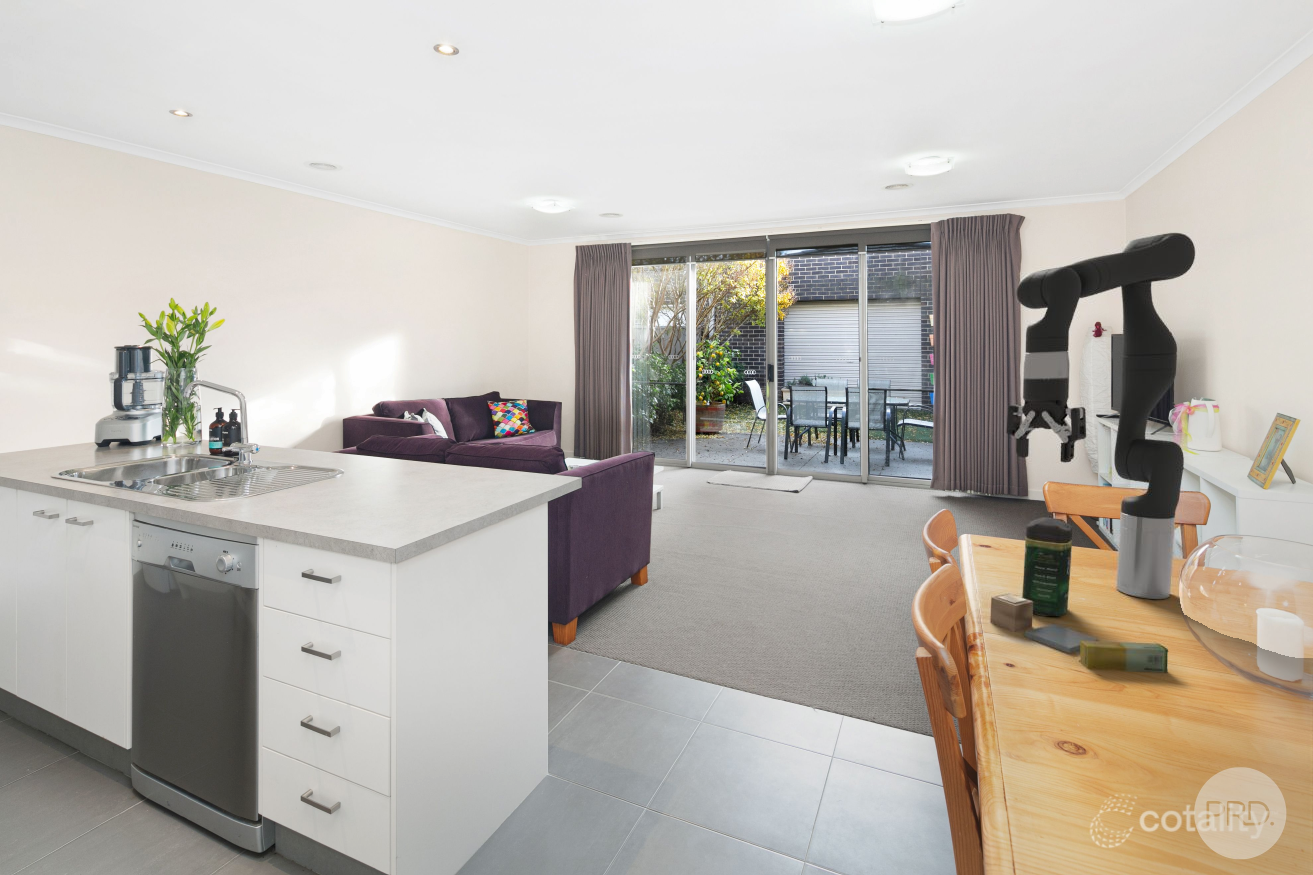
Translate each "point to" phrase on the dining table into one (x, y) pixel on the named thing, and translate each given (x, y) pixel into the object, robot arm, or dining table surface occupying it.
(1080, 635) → the pad
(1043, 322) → the robot arm
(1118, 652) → the medication box
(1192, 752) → the dining table surface
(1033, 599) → the coffee jar
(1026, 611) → the cube
